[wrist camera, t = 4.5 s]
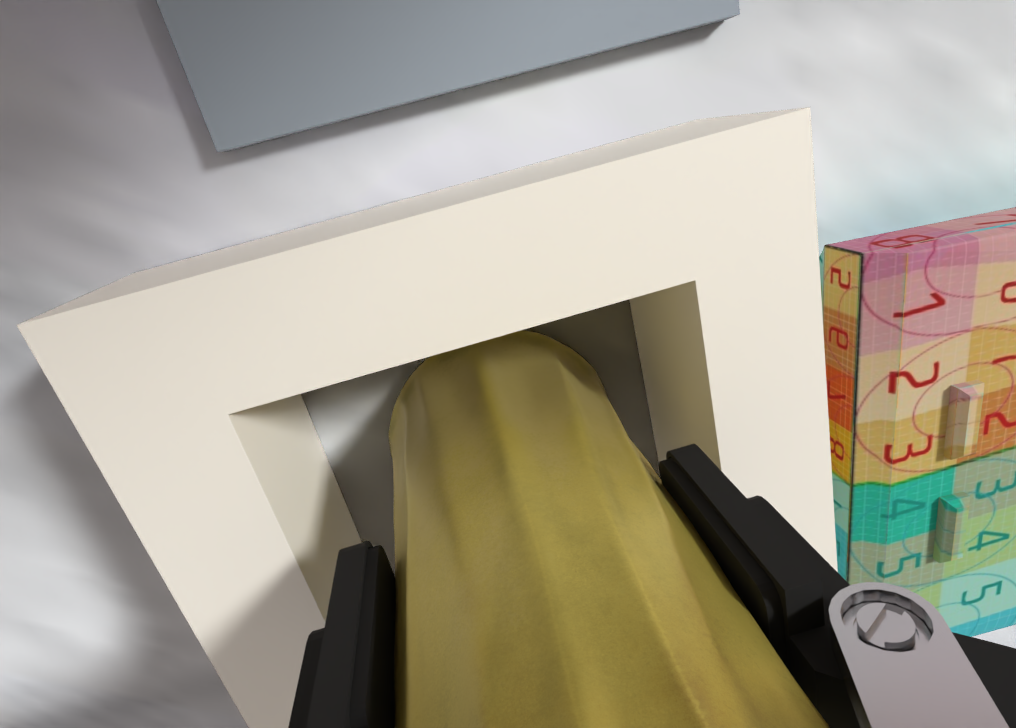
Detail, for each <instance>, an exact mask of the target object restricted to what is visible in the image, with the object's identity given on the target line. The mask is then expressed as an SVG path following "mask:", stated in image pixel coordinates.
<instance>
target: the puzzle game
mask: <svg viewBox="0 0 1016 728" xmlns="http://www.w3.org/2000/svg"><path fill="white" fill-rule="evenodd" d="M819 265H820V281H821V298H822V315H823V332H824V349H825V366H826V383H827V400H828V416H829V433H830V450H831V467H832V484H833V501H834V518H835V534H836V551H837V568H838V573H839V574H840V575H841V576H842V577H843V578H844V579H845V580H846V581H847V582H848V583H849V584H850V585H852V584H858V583H864V582H878V583H887V584H891V585H895V586H900V587H903V588H905V589H907V590H909V591H912V592H914V593H916V594H918V595H920V596H921V597H923V598H924V599H925V600H927V601H928V602H930V603H931V604H932V605H933V606H934V607H935V608H936V609H937V611H938V612H939V613H940V614H941V615H942V617H943V618H944V620H945V622H946V623H947V625H948V627H949V628H950V630H951V632H954V633H958V634H962V635H965V636H969V637H972V636H976V635H979V634H983V633H986V632H990V631H994V630H997V629H1001V628H1005V627H1008V626H1012V625H1015V624H1016V207H1014V208H1009V209H1004V210H999V211H994V212H989V213H984V214H979V215H974V216H969V217H964V218H959V219H954V220H949V221H944V222H939V223H934V224H929V225H924V226H919V227H914V228H909V229H904V230H899V231H894V232H889V233H884V234H879V235H874V236H869V237H864V238H859V239H854V240H849V241H844V242H838V243H833V244H828V245H825V246H824V249H823V252H822V253H821V255H820V257H819Z"/></svg>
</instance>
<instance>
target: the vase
mask: <svg viewBox="0 0 1016 728" xmlns="http://www.w3.org/2000/svg"><path fill="white" fill-rule="evenodd" d="M389 445H390V452H391V457H392V460H393V484H394V538H395V589H396V607H395V647H394V714H395V728H830V727H829V726H828V724H827V723H826V721H825V720H824V719H823V717H822V716H821V715H820V713H819V712H818V711H817V709H816V708H815V706H814V705H813V704H812V702H811V701H810V700H809V698H808V697H807V696H806V694H805V693H804V691H803V690H802V689H801V687H800V686H799V685H798V683H797V682H796V680H795V679H794V678H793V676H792V675H791V673H790V672H789V670H788V669H787V667H786V666H785V665H784V663H783V662H782V660H781V659H780V657H779V656H778V654H777V653H776V651H775V650H774V648H773V647H772V645H771V644H770V642H769V641H768V639H767V638H766V636H765V635H764V633H763V632H762V630H761V628H760V627H759V625H758V624H757V622H756V621H755V619H754V618H753V617H752V615H751V614H750V612H749V611H748V609H747V608H746V606H745V605H744V603H743V602H742V600H741V599H740V597H739V596H738V594H737V593H736V592H735V590H734V588H733V587H732V585H731V584H730V582H729V580H728V579H727V577H726V575H725V574H724V572H723V570H722V569H721V567H720V565H719V564H718V562H717V561H716V559H715V557H714V556H713V554H712V553H711V551H710V550H709V548H708V547H707V545H706V544H705V542H704V541H703V540H702V538H701V537H700V535H699V534H698V532H697V531H696V529H695V528H694V526H693V525H692V523H691V522H690V520H689V519H688V517H687V516H686V515H685V513H684V512H683V510H682V509H681V508H680V507H679V505H678V504H677V503H676V501H675V500H674V499H673V497H672V496H671V495H670V493H669V492H668V491H667V490H666V488H665V487H664V486H663V484H662V481H661V479H660V478H659V476H658V475H657V474H656V472H655V471H654V469H653V468H652V466H651V465H650V463H649V462H648V461H647V459H646V458H645V457H644V456H643V454H642V453H641V452H640V451H639V449H638V448H637V447H636V446H635V444H634V443H633V442H632V441H631V440H630V439H629V437H628V435H627V433H626V431H625V429H624V427H623V425H622V423H621V421H620V419H619V418H618V416H617V414H616V412H615V410H614V409H613V407H612V405H611V403H610V402H609V400H608V398H607V395H606V392H605V389H604V387H603V384H602V382H601V380H600V378H599V376H598V374H597V373H596V371H595V369H594V368H593V367H592V366H591V365H590V364H589V363H588V362H587V361H586V360H585V359H584V358H583V357H581V356H580V355H579V354H578V353H577V352H575V351H574V350H572V349H571V348H569V347H568V346H566V345H564V344H562V343H560V342H558V341H556V340H554V339H552V338H550V337H548V336H545V335H543V334H540V333H536V332H531V331H526V330H520V331H517V332H513V333H510V334H506V335H503V336H499V337H496V338H493V339H489V340H486V341H482V342H479V343H475V344H472V345H468V346H465V347H461V348H458V349H454V350H451V351H447V352H444V353H440V354H437V355H433V356H430V357H429V358H427V359H426V360H425V361H424V362H423V363H422V364H421V365H420V366H419V367H418V368H417V369H416V370H415V371H414V372H413V373H412V375H411V376H410V377H409V379H408V380H407V381H406V383H405V384H404V386H403V388H402V390H401V392H400V394H399V396H398V398H397V400H396V403H395V406H394V409H393V412H392V416H391V421H390V428H389Z"/></svg>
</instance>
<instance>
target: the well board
mask: <svg viewBox="0 0 1016 728" xmlns="http://www.w3.org/2000/svg"><path fill="white" fill-rule="evenodd" d="M628 299H629V301H630V306H631V312H632V318H633V323H634V329H635V334H636V340H637V345H638V351H639V356H640V362H641V367H642V373H643V378H644V384H645V390H646V395H647V401H648V406H649V412H650V417H651V423H652V428H653V434H654V439H655V445H656V450H657V456H658V461H659V462H660V461H662V460H666V453H667V451H670V450H673V449H677V448H680V447H683V446H687V445H690V444H696V445H697V446H698V447H699V448H700V449H701V450H702V451H703V452H704V453H705V454H706V455H707V456H708V457H709V458H710V459H711V460H712V462H713V463H714V464H715V465H716V466H717V467H718V468H719V469H720V470H721V471H722V472H723V473H724V474H725V475H726V477H727V478H728V479H729V480H730V481H731V482H732V483H733V484H734V485H735V486H736V487H737V488H738V489H739V490H740V492H741V493H742V494H743V495H744V496H745V497H746V498H751V497H754V496H757V495H758V496H761V497H763V498H764V499H766V500H767V501H768V502H769V503H770V504H771V505H772V506H773V507H774V508H775V509H776V510H777V511H778V512H779V513H780V514H781V515H782V516H783V517H784V518H785V519H786V520H787V521H788V522H789V523H790V524H791V525H792V526H793V528H794V529H795V530H796V531H797V532H798V533H799V534H800V535H801V536H802V537H803V538H804V539H805V540H806V541H807V542H808V543H809V544H810V545H811V546H812V547H813V548H814V549H815V550H816V551H817V552H818V553H819V554H820V555H821V556H822V557H823V558H824V559H825V560H826V561H827V562H828V563H829V564H830V565H831V566H832V567H833V568H834V569H835V570H836V571H837V572H838V568H837V551H836V534H835V518H834V501H833V484H832V467H831V450H830V433H829V416H828V400H827V383H826V366H825V349H824V332H823V315H822V298H821V281H820V265H819V248H818V231H817V214H816V197H815V180H814V163H813V147H812V130H811V113H810V107H809V108H800V109H790V110H781V111H771V112H762V113H752V114H743V115H733V116H724V117H715V118H705V119H697V120H693V121H690V122H686V123H682V124H679V125H675V126H671V127H668V128H664V129H660V130H657V131H653V132H649V133H646V134H642V135H638V136H635V137H631V138H627V139H624V140H620V141H616V142H613V143H609V144H605V145H602V146H598V147H594V148H591V149H587V150H583V151H580V152H576V153H572V154H569V155H565V156H561V157H558V158H554V159H550V160H547V161H543V162H539V163H536V164H532V165H528V166H525V167H521V168H517V169H514V170H510V171H506V172H503V173H499V174H495V175H492V176H488V177H484V178H481V179H477V180H473V181H469V182H466V183H462V184H458V185H455V186H451V187H447V188H444V189H440V190H436V191H433V192H429V193H425V194H422V195H418V196H414V197H411V198H407V199H403V200H400V201H396V202H392V203H389V204H385V205H381V206H378V207H374V208H370V209H367V210H363V211H359V212H356V213H352V214H348V215H345V216H341V217H337V218H334V219H330V220H326V221H323V222H319V223H315V224H312V225H308V226H304V227H301V228H297V229H293V230H290V231H286V232H282V233H279V234H275V235H271V236H268V237H264V238H260V239H257V240H253V241H249V242H246V243H242V244H238V245H235V246H231V247H227V248H224V249H220V250H216V251H213V252H209V253H205V254H201V255H198V256H194V257H190V258H187V259H183V260H179V261H176V262H172V263H168V264H165V265H161V266H157V267H154V268H150V269H146V270H143V271H139V272H135V273H133V274H130V275H128V276H126V277H124V278H121V279H119V280H117V281H115V282H112V283H110V284H108V285H105V286H103V287H101V288H99V289H96V290H94V291H92V292H90V293H87V294H85V295H83V296H81V297H78V298H76V299H74V300H72V301H69V302H67V303H65V304H63V305H60V306H58V307H56V308H54V309H51V310H49V311H47V312H45V313H42V314H40V315H38V316H36V317H33V318H31V319H29V320H27V321H24V322H22V323H20V324H18V325H17V327H18V329H19V330H20V332H21V334H22V335H23V337H24V339H25V341H26V342H27V344H28V346H29V348H30V349H31V351H32V353H33V355H34V356H35V358H36V360H37V361H38V363H39V365H40V367H41V368H42V370H43V372H44V374H45V375H46V377H47V379H48V381H49V382H50V384H51V386H52V387H53V389H54V391H55V393H56V394H57V396H58V398H59V400H60V401H61V403H62V405H63V407H64V408H65V410H66V412H67V414H68V415H69V417H70V419H71V420H72V422H73V424H74V426H75V427H76V429H77V431H78V433H79V434H80V436H81V438H82V440H83V441H84V443H85V445H86V446H87V448H88V450H89V452H90V453H91V455H92V457H93V459H94V460H95V462H96V464H97V466H98V467H99V469H100V471H101V472H102V474H103V476H104V478H105V479H106V481H107V483H108V485H109V486H110V488H111V490H112V492H113V493H114V495H115V497H116V499H117V500H118V502H119V504H120V505H121V507H122V509H123V511H124V512H125V514H126V516H127V518H128V519H129V521H130V523H131V525H132V526H133V528H134V530H135V531H136V533H137V535H138V537H139V538H140V540H141V542H142V544H143V545H144V547H145V549H146V551H147V552H148V554H149V556H150V557H151V559H152V561H153V563H154V564H155V566H156V568H157V570H158V571H159V573H160V575H161V577H162V578H163V580H164V582H165V583H166V585H167V587H168V589H169V590H170V592H171V594H172V596H173V597H174V599H175V601H176V603H177V604H178V606H179V608H180V610H181V611H182V613H183V615H184V616H185V618H186V620H187V622H188V623H189V625H190V627H191V629H192V630H193V632H194V634H195V636H196V637H197V639H198V641H199V642H200V644H201V646H202V648H203V649H204V651H205V653H206V655H207V656H208V658H209V660H210V662H211V663H212V665H213V667H214V668H215V670H216V672H217V674H218V675H219V677H220V679H221V681H222V682H223V684H224V686H225V688H226V689H227V691H228V693H229V694H230V696H231V698H232V700H233V701H234V703H235V705H236V707H237V708H238V710H239V712H240V714H241V715H242V717H243V719H244V721H245V722H246V724H247V726H248V727H249V728H288V726H289V722H290V717H291V712H292V708H293V703H294V698H295V694H296V689H297V684H298V680H299V675H300V670H301V666H302V661H303V656H304V651H305V647H306V642H307V639H308V636H309V634H310V633H311V632H312V631H315V630H318V629H321V628H325V622H326V617H327V611H328V606H329V600H330V595H331V589H332V584H333V578H334V573H335V568H336V562H337V557H338V552H339V550H340V549H343V548H346V547H349V546H353V545H356V544H359V543H362V541H361V539H360V536H359V534H358V532H357V529H356V527H355V524H354V522H353V520H352V517H351V515H350V512H349V510H348V507H347V505H346V503H345V500H344V498H343V495H342V493H341V490H340V488H339V486H338V483H337V481H336V478H335V476H334V473H333V471H332V469H331V466H330V464H329V461H328V459H327V456H326V454H325V452H324V449H323V447H322V444H321V442H320V440H319V437H318V435H317V432H316V430H315V427H314V425H313V423H312V420H311V418H310V415H309V413H308V410H307V408H306V406H305V403H304V401H303V398H302V396H301V393H305V392H308V391H312V390H315V389H319V388H322V387H326V386H329V385H332V384H336V383H339V382H343V381H346V380H350V379H353V378H357V377H360V376H364V375H367V374H371V373H374V372H378V371H381V370H385V369H388V368H392V367H395V366H399V365H402V364H406V363H409V362H412V361H416V360H419V359H423V358H426V357H430V356H433V355H437V354H440V353H444V352H447V351H451V350H454V349H458V348H461V347H465V346H468V345H472V344H475V343H479V342H482V341H486V340H489V339H493V338H496V337H499V336H503V335H506V334H510V333H513V332H517V331H520V330H524V329H527V328H531V327H534V326H538V325H541V324H545V323H548V322H552V321H555V320H559V319H562V318H566V317H569V316H573V315H576V314H579V313H583V312H586V311H590V310H593V309H597V308H600V307H604V306H607V305H611V304H614V303H618V302H621V301H625V300H628Z"/></svg>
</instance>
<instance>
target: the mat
mask: <svg viewBox="0 0 1016 728" xmlns="http://www.w3.org/2000/svg"><path fill="white" fill-rule="evenodd" d="M156 2H157V4H158V7H159V9H160V11H161V14H162V16H163V19H164V21H165V24H166V26H167V29H168V31H169V34H170V36H171V39H172V41H173V44H174V46H175V49H176V51H177V54H178V56H179V59H180V61H181V64H182V66H183V69H184V71H185V73H186V76H187V78H188V81H189V83H190V86H191V88H192V91H193V93H194V96H195V98H196V101H197V103H198V106H199V108H200V111H201V113H202V116H203V118H204V121H205V123H206V126H207V128H208V131H209V133H210V136H211V138H212V140H213V143H214V145H215V148H216V150H217V152H226V151H230V150H234V149H237V148H241V147H245V146H249V145H253V144H256V143H260V142H264V141H268V140H271V139H275V138H279V137H283V136H287V135H290V134H294V133H298V132H302V131H306V130H309V129H313V128H317V127H321V126H325V125H328V124H332V123H336V122H340V121H344V120H347V119H351V118H355V117H359V116H362V115H366V114H370V113H374V112H378V111H381V110H385V109H389V108H393V107H397V106H400V105H404V104H408V103H412V102H416V101H419V100H423V99H427V98H431V97H435V96H438V95H442V94H446V93H450V92H453V91H457V90H461V89H465V88H469V87H472V86H476V85H480V84H484V83H488V82H491V81H495V80H499V79H503V78H507V77H510V76H514V75H518V74H522V73H526V72H529V71H533V70H537V69H541V68H544V67H548V66H552V65H556V64H560V63H563V62H567V61H571V60H575V59H579V58H582V57H586V56H590V55H594V54H598V53H601V52H605V51H609V50H613V49H617V48H620V47H624V46H628V45H632V44H635V43H639V42H643V41H647V40H651V39H654V38H658V37H662V36H666V35H670V34H673V33H677V32H681V31H685V30H689V29H692V28H696V27H700V26H704V25H708V24H711V23H715V22H719V21H723V20H726V19H729V18H732V17H734V16H736V15H739V14H740V9H739V0H156Z"/></svg>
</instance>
